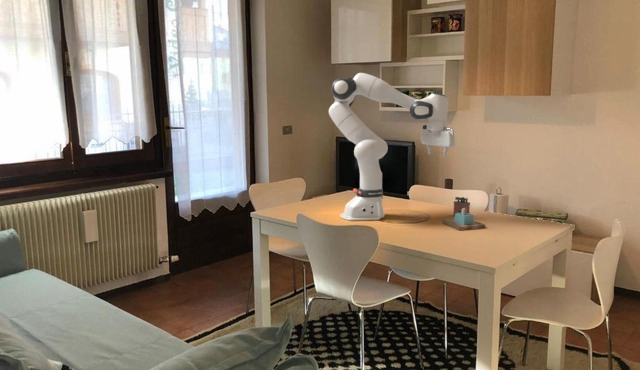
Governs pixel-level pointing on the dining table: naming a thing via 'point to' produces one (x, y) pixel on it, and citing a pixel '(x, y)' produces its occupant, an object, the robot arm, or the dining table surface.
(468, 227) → the post base
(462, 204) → the lighter
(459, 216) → the collar
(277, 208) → the dining table surface
